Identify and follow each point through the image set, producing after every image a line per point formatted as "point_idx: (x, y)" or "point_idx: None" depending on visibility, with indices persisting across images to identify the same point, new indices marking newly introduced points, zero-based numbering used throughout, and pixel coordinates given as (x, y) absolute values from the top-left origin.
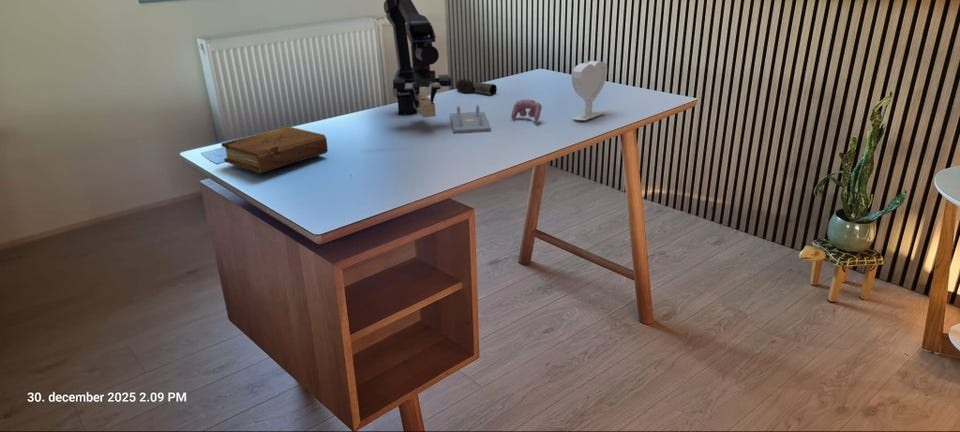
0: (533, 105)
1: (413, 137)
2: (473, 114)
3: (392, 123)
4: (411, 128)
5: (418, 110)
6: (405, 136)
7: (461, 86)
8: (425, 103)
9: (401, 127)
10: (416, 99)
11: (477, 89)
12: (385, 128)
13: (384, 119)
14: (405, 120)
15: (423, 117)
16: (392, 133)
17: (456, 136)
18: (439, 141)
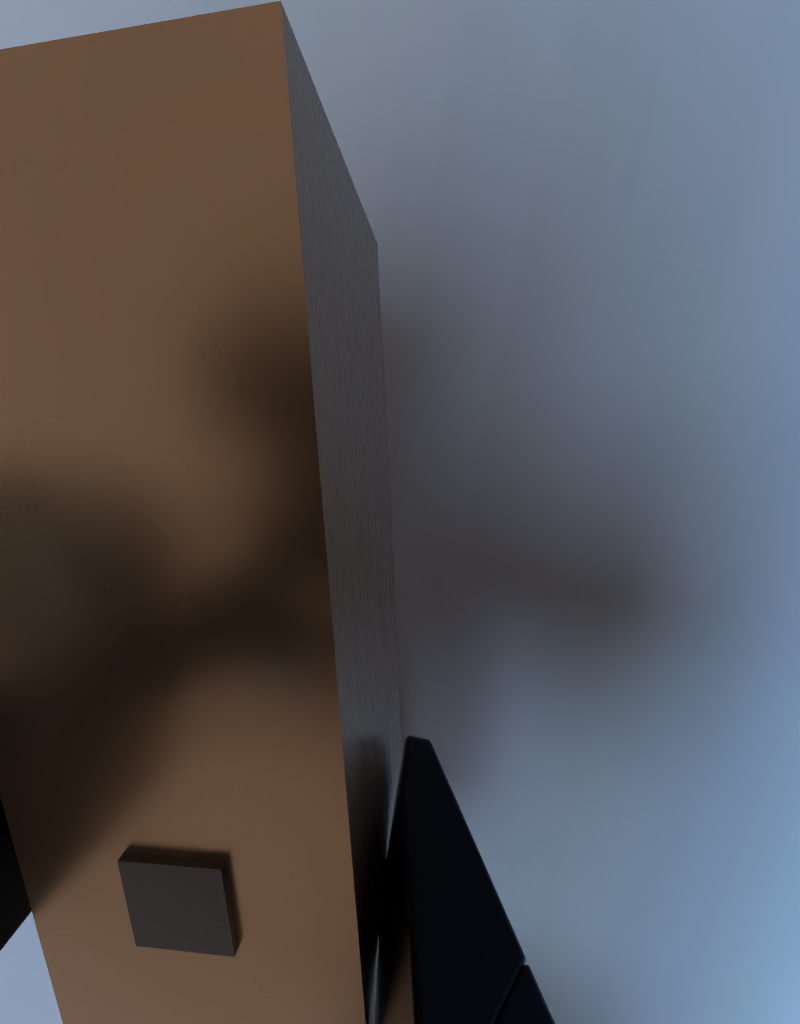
0: None
1: (574, 139)
2: None
3: (656, 815)
4: (510, 559)
5: (394, 682)
6: (660, 226)
7: None
8: (144, 319)
9: (605, 638)
10: (370, 1005)
11: None
12: (788, 668)
13: (693, 970)
14: (505, 858)
15: (373, 244)
16: (777, 428)
17: (70, 18)
18: None
